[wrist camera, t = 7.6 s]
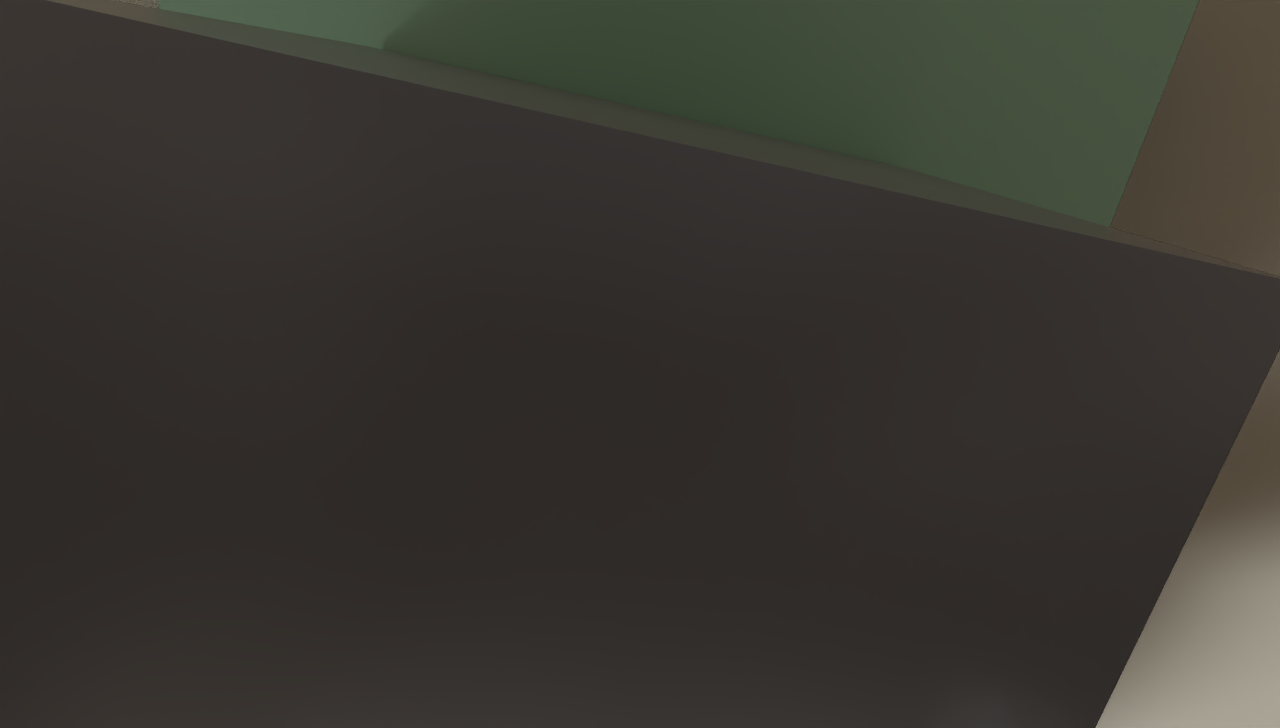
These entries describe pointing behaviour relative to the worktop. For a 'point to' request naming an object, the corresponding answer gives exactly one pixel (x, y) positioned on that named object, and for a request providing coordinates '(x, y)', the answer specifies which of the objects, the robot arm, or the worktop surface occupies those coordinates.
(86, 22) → the block
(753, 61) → the board
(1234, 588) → the worktop surface
